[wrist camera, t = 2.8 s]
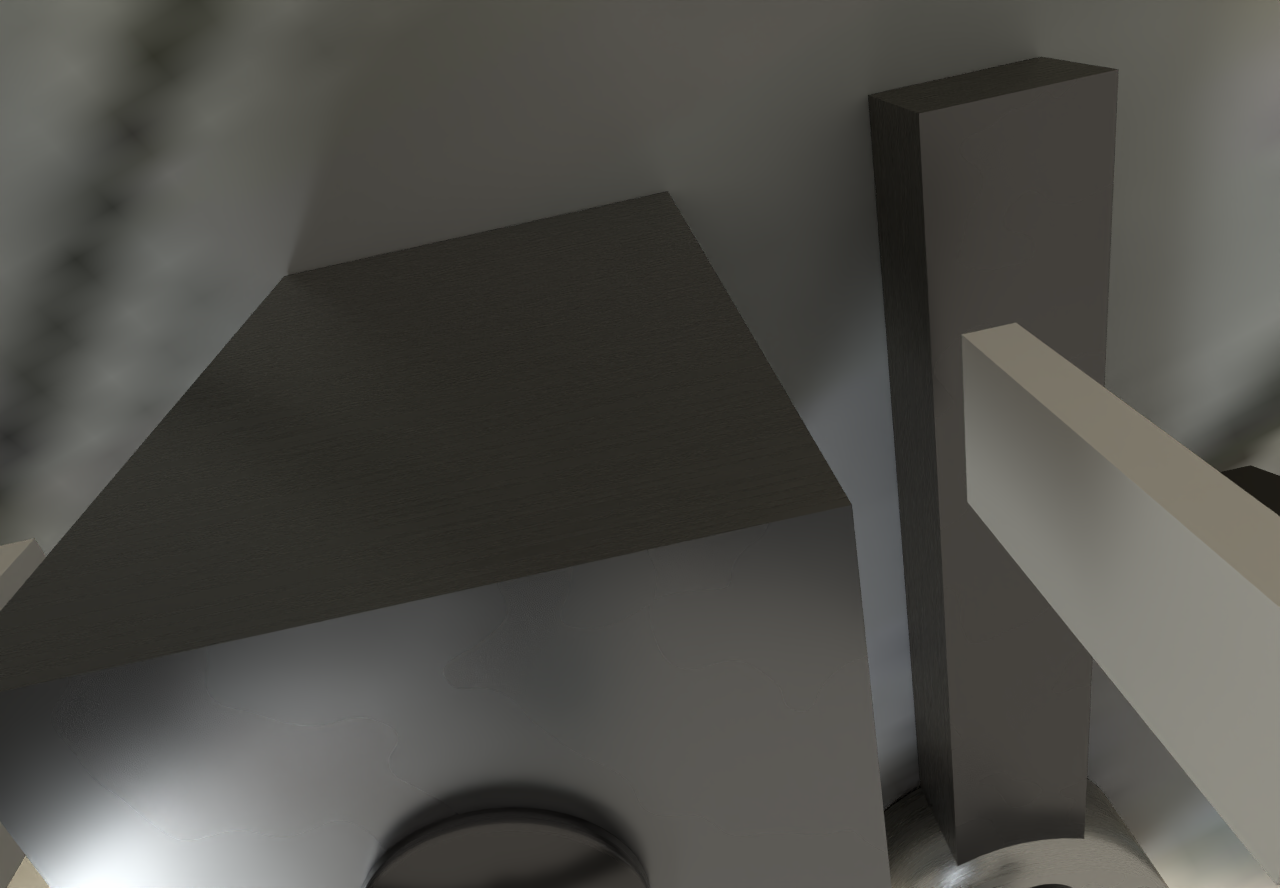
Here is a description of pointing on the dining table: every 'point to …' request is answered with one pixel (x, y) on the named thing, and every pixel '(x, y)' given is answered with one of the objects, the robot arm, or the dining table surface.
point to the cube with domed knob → (459, 597)
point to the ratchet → (936, 467)
